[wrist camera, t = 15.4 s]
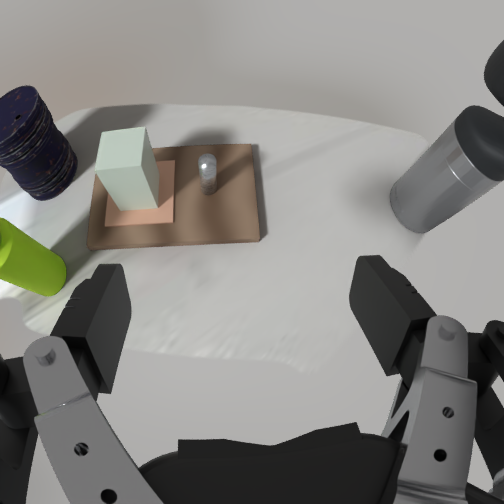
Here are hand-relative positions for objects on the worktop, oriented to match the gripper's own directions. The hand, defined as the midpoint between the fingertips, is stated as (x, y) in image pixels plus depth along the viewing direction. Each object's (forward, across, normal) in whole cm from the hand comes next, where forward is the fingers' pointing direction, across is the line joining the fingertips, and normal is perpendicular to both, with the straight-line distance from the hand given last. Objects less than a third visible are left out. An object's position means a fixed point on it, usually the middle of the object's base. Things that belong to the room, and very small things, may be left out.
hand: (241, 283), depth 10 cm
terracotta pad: (+30, +11, +6) cm, 33 cm away
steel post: (+30, +2, +6) cm, 31 cm away
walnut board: (+31, +7, +7) cm, 33 cm away
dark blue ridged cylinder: (+35, +27, +3) cm, 45 cm away
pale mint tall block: (+30, +11, +6) cm, 32 cm away
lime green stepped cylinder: (+24, +25, +14) cm, 37 cm away
